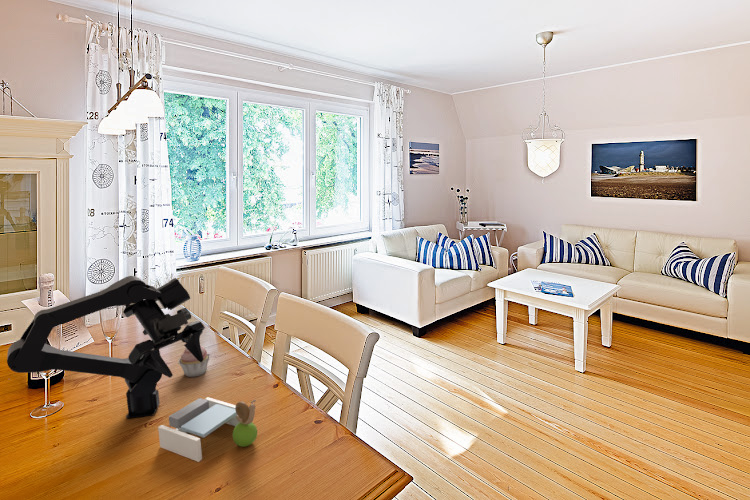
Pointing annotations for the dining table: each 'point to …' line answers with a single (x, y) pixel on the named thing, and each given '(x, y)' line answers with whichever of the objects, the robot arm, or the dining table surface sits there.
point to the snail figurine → (245, 424)
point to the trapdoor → (201, 417)
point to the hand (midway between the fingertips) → (187, 368)
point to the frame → (188, 436)
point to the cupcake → (193, 363)
